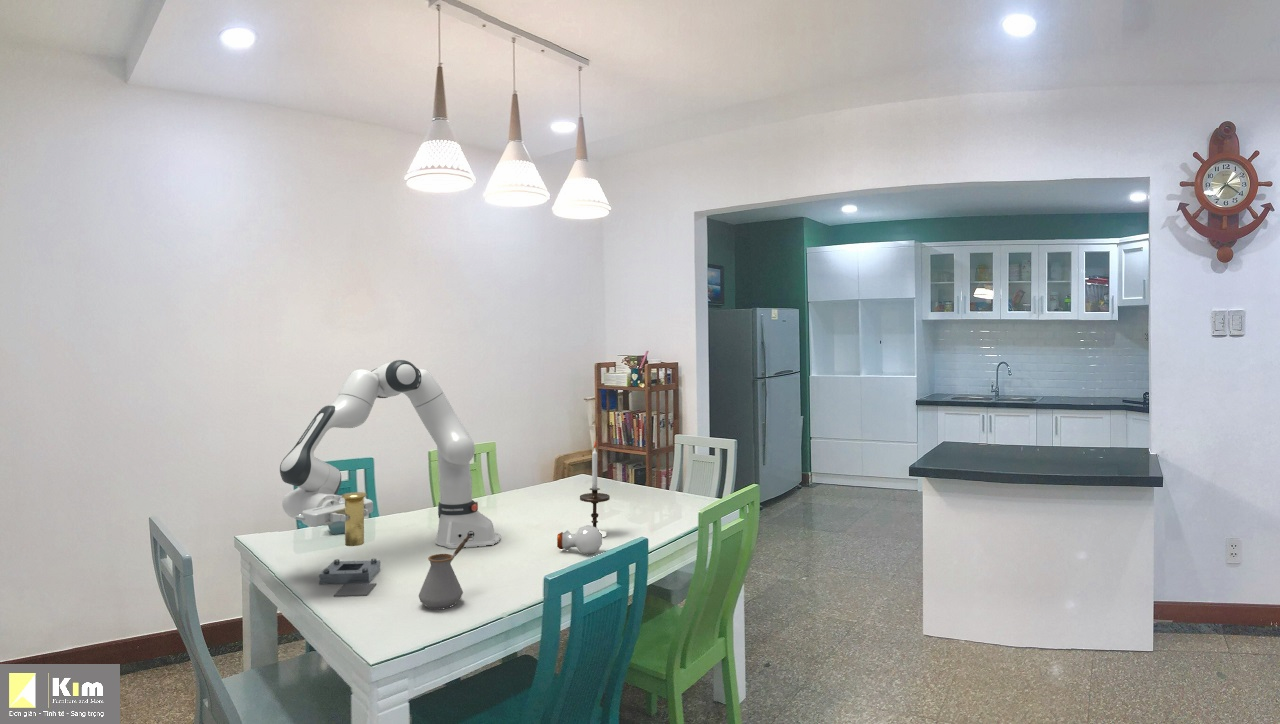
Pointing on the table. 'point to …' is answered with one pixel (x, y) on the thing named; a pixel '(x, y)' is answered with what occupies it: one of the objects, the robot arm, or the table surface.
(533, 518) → the table surface
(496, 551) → the table surface
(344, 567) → the housing
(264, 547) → the table surface
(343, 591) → the pad
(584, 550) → the potion bottle
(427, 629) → the table surface
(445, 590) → the coffee pot
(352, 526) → the brass flanged cylinder
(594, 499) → the candlestick
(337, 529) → the flower pot
